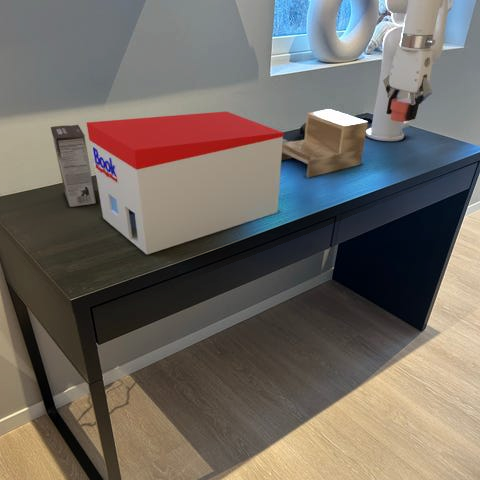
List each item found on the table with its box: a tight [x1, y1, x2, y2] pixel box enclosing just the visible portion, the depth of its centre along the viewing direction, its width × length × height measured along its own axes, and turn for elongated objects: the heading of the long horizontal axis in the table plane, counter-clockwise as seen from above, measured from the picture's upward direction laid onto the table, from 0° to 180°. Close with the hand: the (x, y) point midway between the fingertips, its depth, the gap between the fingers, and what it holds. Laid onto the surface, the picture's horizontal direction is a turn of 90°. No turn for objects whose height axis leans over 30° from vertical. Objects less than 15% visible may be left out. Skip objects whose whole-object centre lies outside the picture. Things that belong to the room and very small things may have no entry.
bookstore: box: [86, 111, 284, 255], centre depth 105 cm, size 21×35×21 cm, turn 127°
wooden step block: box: [281, 108, 369, 178], centre depth 138 cm, size 20×16×12 cm
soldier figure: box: [276, 128, 294, 144], centre depth 150 cm, size 8×5×12 cm
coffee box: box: [50, 124, 97, 208], centre depth 113 cm, size 9×6×16 cm
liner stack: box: [390, 98, 411, 122], centre depth 132 cm, size 6×6×5 cm
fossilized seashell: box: [299, 122, 306, 136], centre depth 160 cm, size 8×7×10 cm
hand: (400, 115), depth 133 cm, fingers closed on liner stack, 6 cm apart
